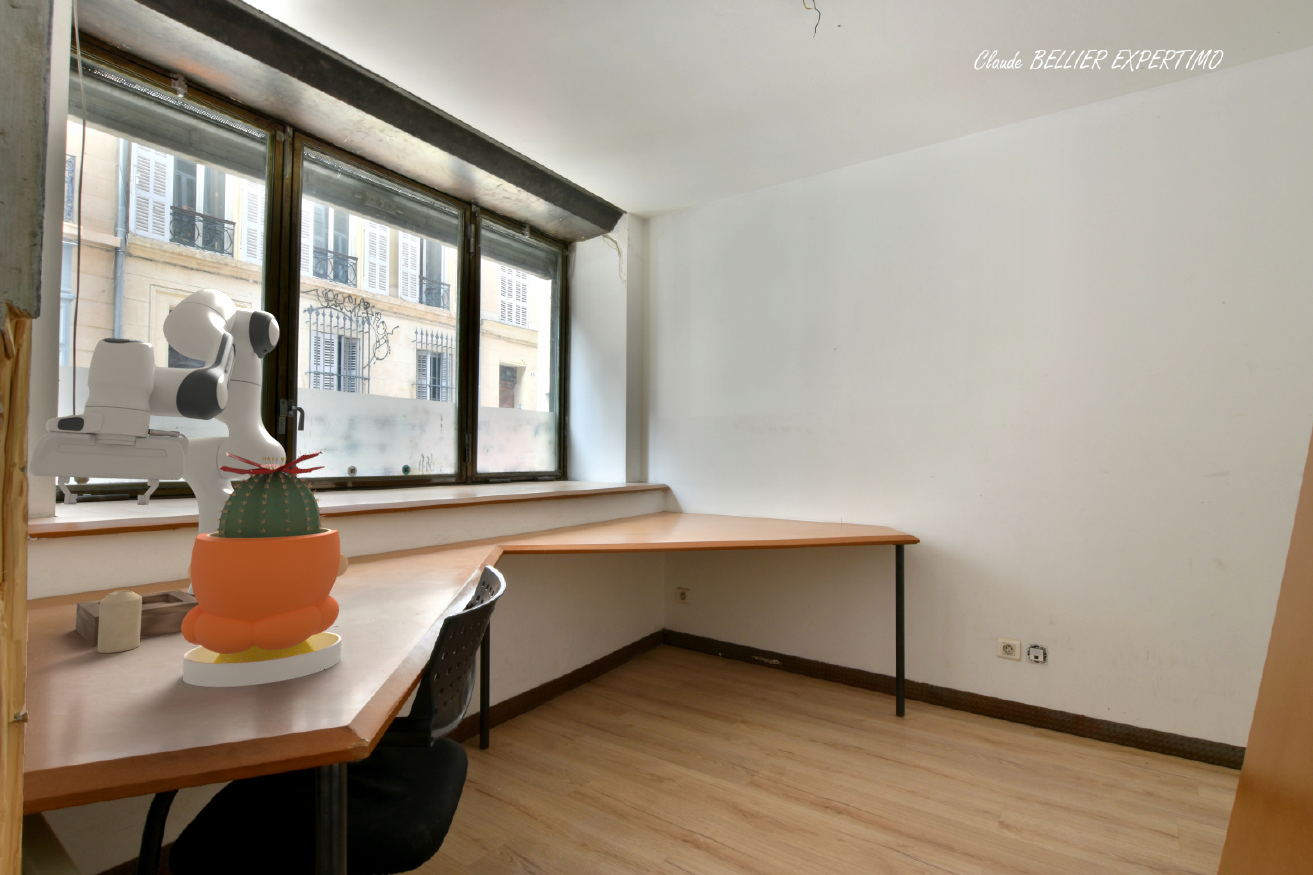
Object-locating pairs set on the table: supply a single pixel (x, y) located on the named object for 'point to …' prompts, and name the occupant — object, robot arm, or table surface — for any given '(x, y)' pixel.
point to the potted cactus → (264, 584)
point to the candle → (119, 622)
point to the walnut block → (156, 614)
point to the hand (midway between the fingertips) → (107, 504)
